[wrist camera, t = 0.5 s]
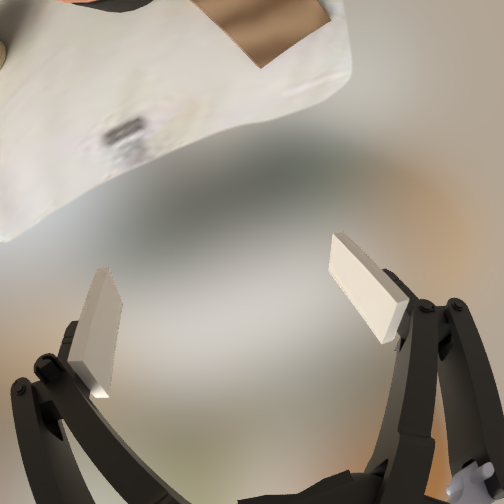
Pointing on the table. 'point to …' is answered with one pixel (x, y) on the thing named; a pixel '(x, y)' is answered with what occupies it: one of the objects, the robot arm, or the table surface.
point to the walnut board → (265, 24)
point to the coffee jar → (110, 4)
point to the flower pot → (2, 54)
